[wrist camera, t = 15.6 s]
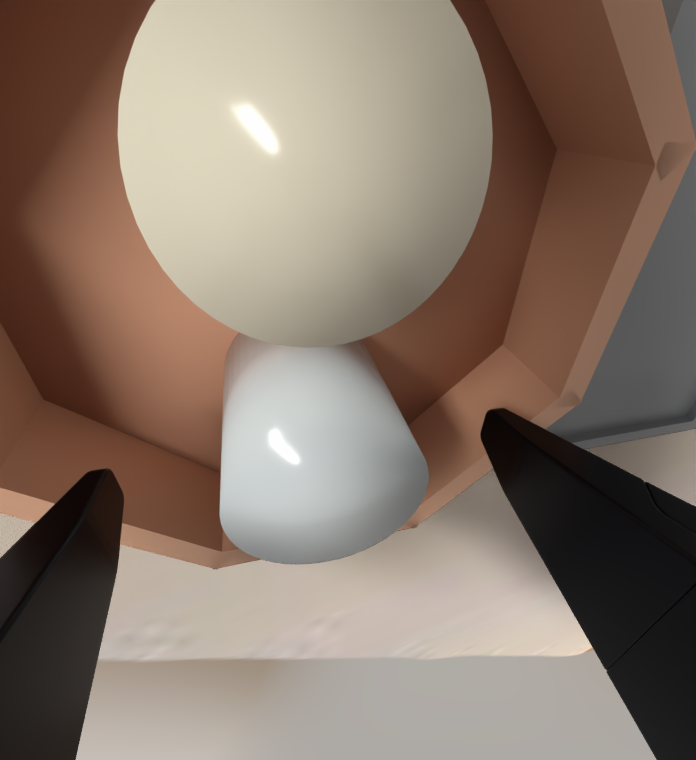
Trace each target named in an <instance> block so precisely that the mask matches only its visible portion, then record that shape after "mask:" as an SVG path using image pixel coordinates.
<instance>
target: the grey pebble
mask: <svg viewBox="0 0 696 760" xmlns="http://www.w3.org/2000/svg"><path fill="white" fill-rule="evenodd" d="M428 480H429V472H428V466H427V463H426V460H425V458H424V456H423V454H422V452H421V450H420V448H419V446H418V444H417V442H416V440H415V439H414V437H413V435H412V433H411V431H410V429H409V427H408V425H407V423H406V421H405V420H404V418H403V416H402V414H401V412H400V410H399V408H398V406H397V404H396V402H395V400H394V399H393V397H392V395H391V393H390V391H389V389H388V387H387V385H386V383H385V381H384V379H383V378H382V376H381V374H380V372H379V370H378V368H377V366H376V364H375V362H374V360H373V358H372V357H371V355H370V353H369V351H368V349H367V347H366V345H365V343H364V341H363V339H360V340H357V341H353V342H350V343H346V344H341V345H335V346H329V347H314V348H304V347H289V346H283V345H278V344H272V343H268V342H265V341H262V340H258V339H255V338H252V337H249V336H247V335H245V334H242V333H240V332H239V333H238V334H237V336H236V337H235V338H234V340H233V341H232V343H231V345H230V347H229V349H228V352H227V354H226V358H225V363H224V388H223V420H222V452H221V484H220V521H221V525H222V528H223V530H224V532H225V534H226V535H227V537H228V538H229V540H230V541H231V542H232V543H233V544H234V545H235V546H237V547H238V548H239V549H241V550H242V551H244V552H245V553H247V554H249V555H251V556H254V557H256V558H259V559H262V560H266V561H270V562H275V563H282V564H313V563H321V562H326V561H332V560H336V559H340V558H343V557H346V556H350V555H353V554H355V553H358V552H360V551H363V550H365V549H367V548H369V547H371V546H373V545H375V544H377V543H379V542H380V541H382V540H384V539H386V538H387V537H388V536H390V535H391V534H393V533H394V532H395V531H397V530H398V529H399V528H400V527H401V526H403V525H404V524H405V523H406V522H407V521H408V520H409V519H410V518H411V516H412V515H413V514H414V513H415V511H416V510H417V509H418V507H419V505H420V504H421V502H422V500H423V498H424V496H425V494H426V490H427V487H428Z"/></svg>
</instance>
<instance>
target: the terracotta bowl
mask: <svg viewBox="0 0 696 760" xmlns="http://www.w3.org/2000/svg"><path fill="white" fill-rule="evenodd" d="M450 1H451V3H452V4H453V6H454V7H455V9H456V11H457V12H458V14H459V16H460V17H461V19H462V21H463V22H464V24H465V25H466V28H467V30H468V32H469V34H470V37H471V39H472V41H473V43H474V46H475V48H476V50H477V52H478V56H479V59H480V62H481V65H482V69H483V72H484V75H485V79H486V83H487V89H488V94H489V100H490V105H491V116H492V131H493V141H492V162H491V169H490V175H489V182H488V187H487V191H486V195H485V199H484V203H483V207H482V210H481V213H480V216H479V219H478V221H477V224H476V227H475V229H474V232H473V234H472V236H471V238H470V240H469V242H468V244H467V246H466V248H465V250H464V252H463V253H462V255H461V257H460V258H459V260H458V262H457V263H456V265H455V266H454V268H453V269H452V271H451V272H450V273H449V275H448V276H447V277H446V279H445V280H444V281H443V282H442V284H441V285H440V286H439V287H438V288H437V289H436V290H435V291H434V292H433V293H432V294H431V296H430V297H429V298H428V299H427V300H426V301H424V302H423V303H422V304H421V305H420V306H419V307H417V308H416V309H415V310H414V311H413V312H411V313H410V314H409V315H407V316H406V317H404V318H403V319H401V320H400V321H398V322H397V323H395V324H393V325H392V326H390V327H388V328H386V329H384V330H382V331H380V332H378V333H376V334H373V335H371V336H368V337H366V338H363V341H364V343H365V345H366V347H367V349H368V351H369V353H370V355H371V357H372V358H373V360H374V362H375V364H376V366H377V368H378V370H379V372H380V374H381V376H382V378H383V379H384V381H385V383H386V385H387V387H388V389H389V391H390V393H391V395H392V397H393V399H394V400H395V402H396V404H397V406H398V408H399V410H400V412H401V414H402V416H403V418H404V420H405V421H406V423H407V425H408V427H409V429H410V431H411V433H412V435H413V437H414V439H415V440H416V442H417V444H418V446H419V448H420V450H421V452H422V454H423V456H424V458H425V460H426V463H427V466H428V472H429V480H428V487H427V490H426V494H425V496H424V498H423V500H422V502H421V504H420V505H419V507H418V509H417V510H416V511H415V513H414V514H413V515H412V516H411V518H410V519H409V520H408V521H407V522H406V523H405V524H404V525H403V526H401V527H400V528H399V529H398V530H397V531H400V530H404V529H409V528H415V527H417V525H419V524H420V523H421V522H423V521H424V520H425V519H427V518H428V517H429V516H431V515H432V514H433V513H435V512H436V511H437V510H439V509H440V508H441V507H443V506H444V505H445V504H447V503H448V502H449V501H451V500H452V499H453V498H455V497H456V496H457V495H459V494H460V493H461V492H463V491H464V490H465V489H467V488H468V487H469V486H471V485H472V484H473V483H475V482H476V481H477V480H479V479H480V478H481V477H482V476H484V475H485V474H486V473H488V472H489V471H490V470H492V469H493V467H492V464H491V462H490V460H489V457H488V455H487V453H486V451H485V448H484V446H483V444H482V441H481V437H480V433H481V429H482V425H483V422H484V418H485V414H486V412H487V411H488V410H490V409H495V408H505V409H507V410H509V411H511V412H513V413H515V414H517V415H519V416H521V417H523V418H525V419H527V420H528V421H530V422H532V423H534V424H536V425H538V426H540V427H542V428H544V429H546V428H548V427H549V426H550V425H552V424H553V423H554V422H556V421H557V420H558V419H560V418H561V417H562V416H564V415H565V414H566V413H567V412H569V411H570V410H571V409H573V408H574V407H575V406H577V405H579V404H580V403H581V402H582V401H581V400H582V398H583V396H584V393H585V391H586V389H587V387H588V385H589V382H590V380H591V378H592V376H593V374H594V371H595V369H596V367H597V365H598V363H599V360H600V358H601V356H602V354H603V352H604V349H605V347H606V345H607V343H608V340H609V338H610V336H611V334H612V332H613V329H614V327H615V325H616V323H617V321H618V318H619V316H620V314H621V312H622V310H623V307H624V305H625V303H626V301H627V299H628V296H629V294H630V292H631V290H632V288H633V285H634V283H635V281H636V279H637V277H638V274H639V272H640V270H641V268H642V266H643V263H644V261H645V259H646V257H647V255H648V252H649V250H650V248H651V246H652V244H653V241H654V239H655V237H656V235H657V233H658V230H659V228H660V226H661V224H662V222H663V219H664V217H665V215H666V213H667V211H668V208H669V206H670V204H671V202H672V200H673V197H674V195H675V193H676V191H677V189H678V186H679V184H680V182H681V180H682V178H683V175H684V173H685V171H686V169H687V167H688V164H689V162H690V160H691V158H692V156H693V153H694V151H696V140H695V135H694V131H693V127H692V123H691V119H690V115H689V111H688V107H687V102H686V98H685V94H684V90H683V86H682V82H681V78H680V74H679V69H678V65H677V61H676V57H675V53H674V49H673V45H672V40H671V36H670V32H669V28H668V24H667V20H666V16H665V12H664V7H663V3H662V0H450ZM154 2H155V0H0V513H2V514H6V515H9V516H13V517H17V518H21V519H25V520H29V521H33V522H37V521H38V520H39V519H40V518H41V517H42V516H43V515H44V514H45V513H46V512H47V511H48V510H49V509H50V508H51V507H52V506H53V505H54V504H55V503H56V502H57V501H58V500H59V499H60V498H61V497H62V496H63V495H64V494H65V493H66V492H67V491H68V490H69V489H70V488H71V487H72V486H73V485H74V484H75V483H77V482H78V481H79V480H80V479H81V478H82V477H83V476H84V475H85V474H86V473H87V472H89V471H91V470H98V469H104V468H109V469H111V470H112V471H113V473H114V475H115V477H116V479H117V481H118V483H119V485H120V487H121V489H122V491H123V494H124V509H123V519H122V530H121V540H120V544H121V545H125V546H129V547H133V548H137V549H140V550H144V551H148V552H152V553H156V554H160V555H164V556H167V557H171V558H175V559H179V560H183V561H187V562H191V563H194V564H198V565H202V566H206V567H210V568H213V569H218V568H222V567H227V566H232V565H237V564H241V563H246V562H251V561H256V560H261V559H259V558H256V557H254V556H251V555H249V554H247V553H245V552H244V551H242V550H241V549H239V548H238V547H237V546H235V545H234V544H233V543H232V542H231V541H230V540H229V538H228V537H227V535H226V534H225V532H224V530H223V528H222V525H221V521H220V484H221V452H222V420H223V388H224V363H225V358H226V354H227V352H228V349H229V347H230V345H231V343H232V341H233V340H234V338H235V337H236V336H237V334H238V333H239V332H238V331H235V330H233V329H231V328H230V327H228V326H226V325H224V324H223V323H221V322H219V321H218V320H216V319H214V318H213V317H211V316H210V315H209V314H207V313H206V312H205V311H203V310H202V309H201V308H199V307H198V306H197V305H195V304H194V303H193V302H192V301H191V300H190V299H189V298H188V297H187V296H186V295H185V294H184V293H183V292H182V291H181V290H180V289H179V288H178V287H177V286H176V285H175V284H174V282H173V281H172V280H171V279H170V278H169V276H168V275H167V274H166V273H165V272H164V270H163V269H162V267H161V266H160V264H159V263H158V261H157V260H156V258H155V257H154V255H153V254H152V252H151V251H150V249H149V247H148V245H147V243H146V241H145V239H144V237H143V235H142V233H141V231H140V229H139V227H138V225H137V223H136V220H135V217H134V215H133V212H132V209H131V206H130V203H129V201H128V198H127V194H126V190H125V185H124V181H123V176H122V172H121V167H120V157H119V146H118V109H119V98H120V93H121V87H122V81H123V76H124V70H125V67H126V64H127V61H128V58H129V55H130V52H131V49H132V46H133V43H134V39H135V37H136V35H137V33H138V31H139V29H140V27H141V25H142V23H143V21H144V19H145V17H146V15H147V13H148V11H149V9H150V7H151V6H152V5H153V3H154Z"/></svg>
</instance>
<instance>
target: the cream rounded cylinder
mask: <svg viewBox="0 0 696 760" xmlns="http://www.w3.org/2000/svg"><path fill="white" fill-rule="evenodd" d="M492 141H493V131H492V116H491V105H490V100H489V94H488V89H487V83H486V79H485V75H484V72H483V69H482V65H481V62H480V59H479V56H478V52H477V50H476V48H475V46H474V43H473V41H472V39H471V37H470V34H469V32H468V30H467V28H466V25H465V24H464V22H463V21H462V19H461V17H460V16H459V14H458V12H457V11H456V9H455V7H454V6H453V4H452V3H451V1H450V0H155V2H154V3H153V5H152V6H151V7H150V9H149V11H148V13H147V15H146V17H145V19H144V21H143V23H142V25H141V27H140V29H139V31H138V33H137V35H136V37H135V39H134V43H133V46H132V49H131V52H130V55H129V58H128V61H127V64H126V67H125V70H124V76H123V81H122V87H121V93H120V98H119V109H118V146H119V157H120V167H121V172H122V176H123V181H124V185H125V190H126V194H127V198H128V201H129V203H130V206H131V209H132V212H133V215H134V217H135V220H136V223H137V225H138V227H139V229H140V231H141V233H142V235H143V237H144V239H145V241H146V243H147V245H148V247H149V249H150V251H151V252H152V254H153V255H154V257H155V258H156V260H157V261H158V263H159V264H160V266H161V267H162V269H163V270H164V272H165V273H166V274H167V275H168V276H169V278H170V279H171V280H172V281H173V282H174V284H175V285H176V286H177V287H178V288H179V289H180V290H181V291H182V292H183V293H184V294H185V295H186V296H187V297H188V298H189V299H190V300H191V301H192V302H193V303H194V304H195V305H197V306H198V307H199V308H201V309H202V310H203V311H205V312H206V313H207V314H209V315H210V316H211V317H213V318H214V319H216V320H218V321H219V322H221V323H223V324H224V325H226V326H228V327H230V328H231V329H233V330H235V331H238V332H240V333H242V334H245V335H247V336H249V337H252V338H255V339H258V340H262V341H265V342H268V343H272V344H278V345H283V346H289V347H304V348H314V347H329V346H335V345H341V344H346V343H350V342H353V341H357V340H360V339H363V338H366V337H368V336H371V335H373V334H376V333H378V332H380V331H382V330H384V329H386V328H388V327H390V326H392V325H393V324H395V323H397V322H398V321H400V320H401V319H403V318H404V317H406V316H407V315H409V314H410V313H411V312H413V311H414V310H415V309H416V308H417V307H419V306H420V305H421V304H422V303H423V302H424V301H426V300H427V299H428V298H429V297H430V296H431V294H432V293H433V292H434V291H435V290H436V289H437V288H438V287H439V286H440V285H441V284H442V282H443V281H444V280H445V279H446V277H447V276H448V275H449V273H450V272H451V271H452V269H453V268H454V266H455V265H456V263H457V262H458V260H459V258H460V257H461V255H462V253H463V252H464V250H465V248H466V246H467V244H468V242H469V240H470V238H471V236H472V234H473V232H474V229H475V227H476V224H477V221H478V219H479V216H480V213H481V210H482V207H483V203H484V199H485V195H486V191H487V187H488V182H489V175H490V169H491V162H492Z"/></svg>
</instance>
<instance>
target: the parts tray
mask: <svg viewBox="0 0 696 760" xmlns="http://www.w3.org/2000/svg"><path fill="white" fill-rule="evenodd" d="M662 3H663V7H664V12H665V16H666V20H667V24H668V28H669V32H670V36H671V40H672V45H673V49H674V53H675V57H676V61H677V65H678V69H679V74H680V78H681V82H682V86H683V90H684V94H685V98H686V102H687V107H688V111H689V115H690V119H691V123H692V127H693V131H694V135H695V140H696V0H662ZM581 401H582V402H581V403H580V404H579V405H577V406H575V407H574V408H573V409H571V410H570V411H569V412H567V413H566V414H565V415H564V416H562V417H561V418H560V419H558V420H557V421H556V422H554V423H553V424H552V425H550V426H549V427H548V428H546V430H548V431H550V432H552V433H553V434H555V435H557V436H559V437H561V438H563V439H565V440H567V441H569V442H571V443H573V444H575V445H577V446H578V447H580V448H582V449H588V448H594V447H599V446H605V445H610V444H616V443H621V442H626V441H632V440H637V439H643V438H648V437H654V436H659V435H664V434H670V433H675V432H681V431H686V430H691V429H696V151H694V153H693V156H692V158H691V160H690V162H689V164H688V167H687V169H686V171H685V173H684V175H683V178H682V180H681V182H680V184H679V186H678V189H677V191H676V193H675V195H674V197H673V200H672V202H671V204H670V206H669V208H668V211H667V213H666V215H665V217H664V219H663V222H662V224H661V226H660V228H659V230H658V233H657V235H656V237H655V239H654V241H653V244H652V246H651V248H650V250H649V252H648V255H647V257H646V259H645V261H644V263H643V266H642V268H641V270H640V272H639V274H638V277H637V279H636V281H635V283H634V285H633V288H632V290H631V292H630V294H629V296H628V299H627V301H626V303H625V305H624V307H623V310H622V312H621V314H620V316H619V318H618V321H617V323H616V325H615V327H614V329H613V332H612V334H611V336H610V338H609V340H608V343H607V345H606V347H605V349H604V352H603V354H602V356H601V358H600V360H599V363H598V365H597V367H596V369H595V371H594V374H593V376H592V378H591V380H590V382H589V385H588V387H587V389H586V391H585V393H584V396H583V398H582V400H581Z"/></svg>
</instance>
